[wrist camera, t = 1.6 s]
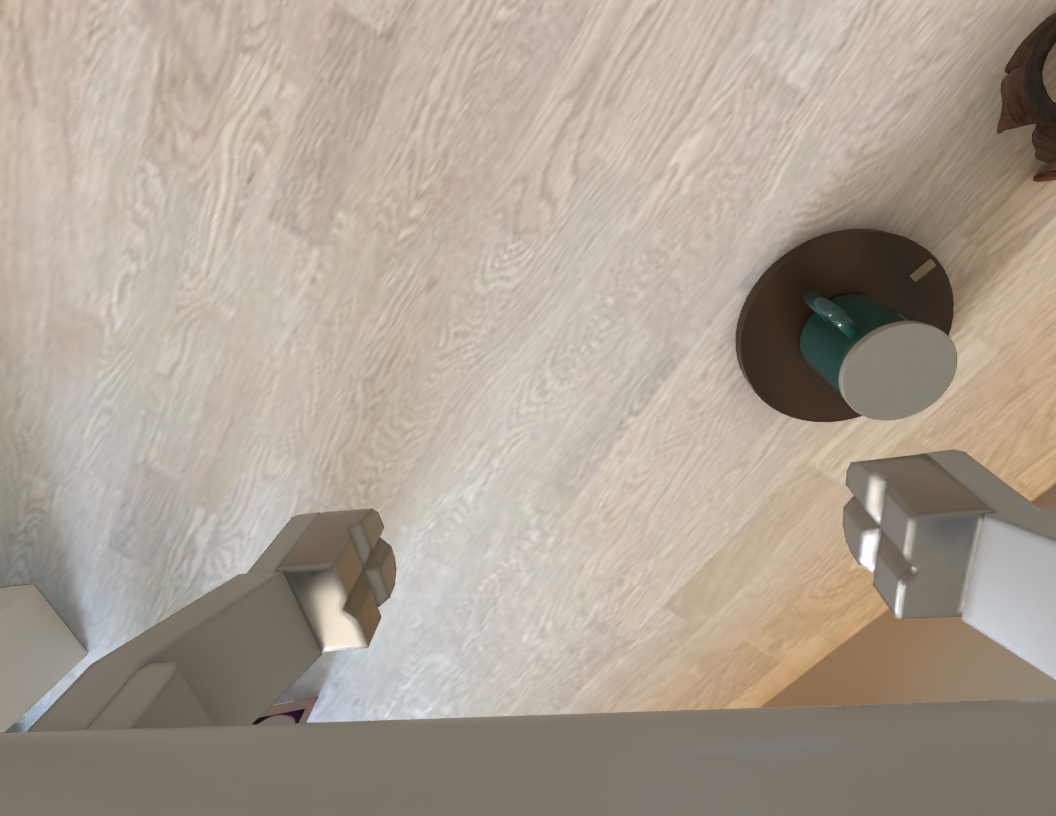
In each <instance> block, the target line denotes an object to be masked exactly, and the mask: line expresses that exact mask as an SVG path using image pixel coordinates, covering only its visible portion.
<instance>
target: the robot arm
mask: <svg viewBox="0 0 1056 816" xmlns="http://www.w3.org/2000/svg"><path fill="white" fill-rule="evenodd" d="M846 486H847V487H848V488H849V489H850V491H851V492H852V493H853V495H854V496H853V497H852V498H851V500H850V501H849V502H848V503H847V504H846V505H845V506H844V507H843V528H844V533H845V538H846V542H847V544H848V547H849V549H850V551H851V553H852V555H853V556H854V558H855V559H856V561H857V562H858V564H859V565H861V566H863V567H864V568H866V569H868V570H870V571H872V572H874V581H873V586H874V587H875V589H876V590H877V592H878V593H879V595H880V596H881V597H882V599H883V600H884V602H885V603H886V605H887V606H888V607H889V609H890V610H891V612H892V613H893V615H894V616H895V617H896V619H903V618H936V617H962V618H961V620H963V621H964V622H966V623H967V624H969V625H970V626H972V627H974V628H975V629H977V630H978V631H980V632H982V633H983V634H985V635H986V636H988V637H989V638H991V639H993V640H994V641H996V642H997V643H999V644H1000V645H1002V646H1003V647H1005V648H1007V649H1008V650H1010V651H1011V652H1013V653H1014V654H1016V655H1017V656H1019V657H1021V658H1022V659H1024V660H1025V661H1027V662H1028V663H1030V664H1032V665H1033V666H1035V667H1036V668H1038V669H1039V670H1041V671H1043V672H1044V673H1046V674H1047V675H1049V676H1050V677H1052V678H1053V679H1055V680H1056V509H1053V508H1051V509H1039V508H1038V507H1036V506H1035V505H1033V504H1032V503H1031V502H1030V501H1028V500H1027V499H1026V498H1024V497H1023V496H1022V495H1020V494H1019V493H1018V492H1017V491H1015V490H1014V489H1013V488H1011V487H1010V486H1009V485H1007V484H1006V483H1005V482H1003V481H1002V480H1001V479H999V478H998V477H997V476H996V475H994V474H993V473H992V472H990V471H989V470H988V469H986V468H985V467H984V466H982V465H981V464H980V463H978V462H977V461H976V460H974V459H973V458H972V457H971V456H969V455H968V454H967V453H965V452H962V451H959V450H955V449H954V450H947V451H939V452H931V453H924V454H919V455H911V456H903V457H894V458H885V459H877V460H868V461H859V462H851V463H850V465H849V468H848V470H847V475H846ZM383 529H384V525H383V523H382V520H381V518H380V515H379V513H378V512H377V511H375V510H373V509H360V510H347V511H334V512H323V513H320V512H319V513H310V514H301V515H297V516H294V517H292V518H291V519H290V520H289V522H288V523H287V524H286V525H285V527H284V528H283V529H282V530H281V532H280V533H279V534H278V535H277V537H276V538H275V539H274V540H273V542H272V543H271V544H270V545H269V546H268V548H267V549H266V550H265V551H264V553H263V554H262V555H261V556H260V558H259V559H258V560H257V561H256V563H255V564H254V565H253V566H252V568H251V569H250V570H249V571H248V573H247V574H239V575H237V576H235V577H234V578H232V579H230V580H229V581H227V582H225V583H224V584H222V585H221V586H219V587H217V588H216V589H214V590H212V591H211V592H209V593H207V594H206V595H204V596H202V597H201V598H199V599H198V600H196V601H194V602H193V603H191V604H189V605H188V606H186V607H184V608H183V609H181V610H180V611H178V612H176V613H175V614H173V615H171V616H170V617H168V618H166V619H165V620H163V621H161V622H160V623H158V624H157V625H155V626H153V627H152V628H150V629H148V630H147V631H145V632H143V633H142V634H140V635H139V636H137V637H135V638H134V639H132V640H130V641H129V642H127V643H125V644H124V645H122V646H120V647H119V648H117V649H116V650H114V651H112V652H111V653H109V654H107V655H106V656H104V657H102V658H101V659H99V660H98V661H96V662H94V663H93V664H91V665H90V666H89V667H88V668H87V669H86V670H85V671H84V672H83V673H82V674H81V675H80V677H79V678H78V679H77V680H76V681H75V682H74V683H73V684H72V685H71V686H70V687H69V688H68V689H67V690H66V691H65V692H64V693H63V694H62V695H61V696H60V697H59V698H58V699H57V700H56V702H55V703H54V704H53V705H52V706H51V707H50V708H49V709H48V710H47V711H46V712H45V713H44V714H43V715H42V716H41V717H40V718H39V719H38V720H37V721H36V722H35V723H34V724H33V725H32V727H31V728H30V729H29V730H28V731H27V732H14V733H0V816H1056V698H1045V699H1020V700H1019V699H1017V700H988V701H960V702H932V703H903V704H902V703H901V704H868V705H838V706H837V705H836V706H804V707H772V708H740V709H708V710H677V711H648V712H618V713H588V714H559V715H529V716H500V717H470V718H440V719H410V720H379V721H349V722H319V723H289V724H259V725H252V724H253V723H254V722H255V721H256V720H257V719H258V718H259V717H260V716H261V715H262V714H263V713H264V712H265V711H266V710H267V709H268V708H269V707H270V706H271V705H272V704H273V703H274V702H275V701H276V700H277V699H278V698H279V697H280V696H281V695H282V694H283V693H284V692H285V691H286V690H287V689H288V688H289V687H290V686H291V685H292V684H293V683H294V682H295V681H296V680H297V679H298V678H299V677H300V676H301V675H302V674H303V673H304V672H305V671H306V670H307V669H308V668H309V667H310V666H311V665H312V664H313V663H314V662H315V661H316V660H317V659H318V658H319V657H320V656H321V655H322V653H321V652H327V651H338V650H350V649H362V648H368V647H369V645H370V642H371V640H372V638H373V635H374V633H375V631H376V628H377V626H378V624H379V622H380V619H381V615H380V612H379V609H378V607H379V606H380V605H381V604H383V603H384V602H385V601H386V600H387V599H389V598H390V596H391V593H392V591H393V588H394V586H395V578H396V562H395V556H394V553H393V550H392V547H391V546H390V545H389V544H388V543H386V542H385V541H384V540H383V539H381V538H380V536H381V533H382V531H383Z"/></svg>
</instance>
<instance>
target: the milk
mask: <svg viewBox="0 0 1056 816" xmlns="http://www.w3.org/2000/svg"><path fill="white" fill-rule="evenodd" d="M87 655H88V652H87V651H86V650H85V649H84V647H83V646H82V645H81V643H80V642H79V641H78V640H77V638H76V637H75V636H74V635H73V633H72V632H71V631H70V629H69V628H68V627H67V626H66V624H65V623H64V622H63V621H62V619H61V618H60V617H59V615H58V614H57V613H56V612H55V610H54V609H53V608H52V607H51V605H50V604H49V603H48V601H47V600H46V599H45V598H44V596H43V595H42V594H41V593H40V591H39V590H38V589H37V587H36V586H35V585H34V584H31V585H21V586H11V587H1V588H0V733H5V732H6V731H7V730H8V729H9V728H10V727H11V726H12V725H13V724H14V723H15V722H16V721H17V720H18V719H19V718H21V717H22V716H23V715H24V714H25V713H26V712H27V711H28V710H29V709H30V708H31V707H32V706H33V705H34V704H35V703H37V702H38V701H39V700H40V699H41V698H42V697H43V696H44V695H45V694H46V693H47V692H48V691H49V690H50V689H51V688H53V687H54V686H55V685H56V684H57V683H58V682H59V681H60V680H61V679H62V678H63V677H64V676H65V675H66V674H67V673H69V672H70V671H71V670H72V669H73V668H74V667H75V666H76V665H77V664H78V663H79V662H80V661H81V660H82V659H83V658H85V657H86V656H87Z"/></svg>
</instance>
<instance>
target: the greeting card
mask: <svg viewBox="0 0 1056 816" xmlns="http://www.w3.org/2000/svg"><path fill="white" fill-rule="evenodd" d="M317 698H318V697H314V698H309V699H304V700H299V701H294V702H289V703H284V704H279V705H274V706H270V707H269V708H268V709H267V710H266V711H265V712H264V713H263V714H262V715H261V716H260V717H259V718H258V719H257V720H256V721H255V722H254V723H253V724H252V725H259V724H289V723H306V721H307V719H308V717H309V715H310V713H311V711H312V709H313V707H314V704H315V702H316V700H317Z"/></svg>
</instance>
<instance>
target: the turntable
mask: <svg viewBox="0 0 1056 816" xmlns="http://www.w3.org/2000/svg"><path fill="white" fill-rule="evenodd" d="M807 290H813V291H815V292H817V293H819V294H820V295H822V296H823V297H825V298H827V299H828V300H832V299H834V298H837V297H839V296H843V295H848V294H863V295H868V296H871V297H873V298H875V299H877V300H879V301H881V302H883V303H885V304H887V305H889V306H891V307H893V308H895V309H897V310H899V311H901V312H903V313H905V314H907V315H909V316H911V317H913V318H915V319H917V320H919V321H921V322H924V323H928V324H930V325H932V326H934V327H936V328H938V329H940V330H941V331H943V332H944V333H945V334H946V335H949V332H950V329H951V324H952V319H953V306H954V303H953V294H952V289H951V285H950V282H949V279H948V277H947V275H946V273H945V271H944V269H943V267H942V266H941V264H940V263H939V262H938V260H937V259H936V258H935V257H934V256H933V255H932V254H931V253H930V252H929V251H928V250H927V249H925V248H924V247H922V246H921V245H919V244H918V243H916V242H914V241H912V240H910V239H907V238H905V237H902V236H899V235H895V234H891V233H888V232H884V231H880V230H872V229H849V230H842V231H836V232H832V233H829V234H825V235H822V236H819V237H817V238H814V239H812V240H809V241H807V242H805V243H803V244H801V245H799V246H798V247H796V248H794V249H793V250H791V251H790V252H788V253H787V254H785V255H784V256H783V257H781V258H780V259H779V260H778V261H777V262H775V263H774V264H773V265H772V266H771V267H770V268H769V269H768V270H767V271H766V272H765V273H764V274H763V275H762V276H761V278H760V279H759V280H758V282H757V283H756V284H755V286H754V287H753V289H752V290H751V292H750V294H749V295H748V297H747V299H746V301H745V303H744V306H743V308H742V310H741V313H740V317H739V320H738V324H737V330H736V352H737V358H738V362H739V365H740V368H741V370H742V372H743V375H744V377H745V378H746V380H747V381H748V383H749V384H750V386H751V387H752V388H753V390H754V391H755V393H756V394H757V395H758V396H759V397H760V398H761V399H762V400H763V401H764V402H765V403H767V404H768V405H769V406H770V407H772V408H774V409H775V410H777V411H779V412H781V413H783V414H785V415H788V416H790V417H793V418H797V419H801V420H806V421H813V422H834V421H843V420H848V419H853V418H856V417H860V416H862V415H860V414H859V413H857V412H856V411H854V410H853V409H852V408H851V407H850V406H849V405H848V404H847V403H846V402H845V400H844V399H843V397H842V396H841V395H840V394H839V393H838V392H837V391H836V390H834V389H833V388H832V387H831V386H830V385H829V384H828V383H827V382H826V381H825V380H824V379H823V378H822V377H821V376H820V375H819V374H818V373H817V372H816V371H814V370H813V369H812V368H811V367H810V366H809V365H808V364H807V362H806V361H805V359H804V358H803V356H802V353H801V349H800V338H801V333H802V330H803V327H804V326H805V324H806V322H807V320H808V319H809V317H810V316H811V315H812V314H813V313H814V311H813V310H812V309H811V308H810V306H809V305H808V304H807V303H806V302H805V301H804V300H803V298H802V297H803V294H804V292H805V291H807Z"/></svg>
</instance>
